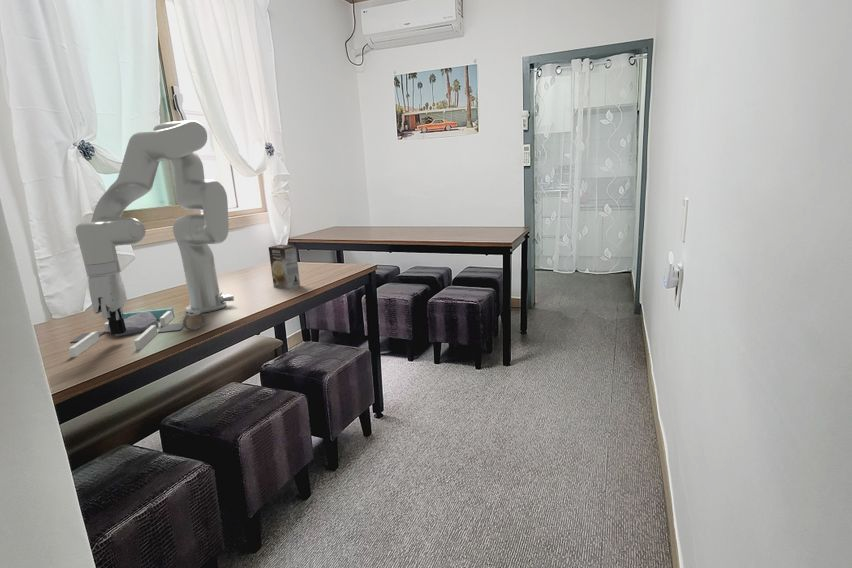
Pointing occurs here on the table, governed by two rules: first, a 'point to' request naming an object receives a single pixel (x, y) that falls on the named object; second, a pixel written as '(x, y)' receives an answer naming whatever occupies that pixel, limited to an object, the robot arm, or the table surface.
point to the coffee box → (284, 266)
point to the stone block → (138, 323)
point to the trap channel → (165, 317)
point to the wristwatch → (191, 316)
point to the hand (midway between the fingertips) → (119, 332)
